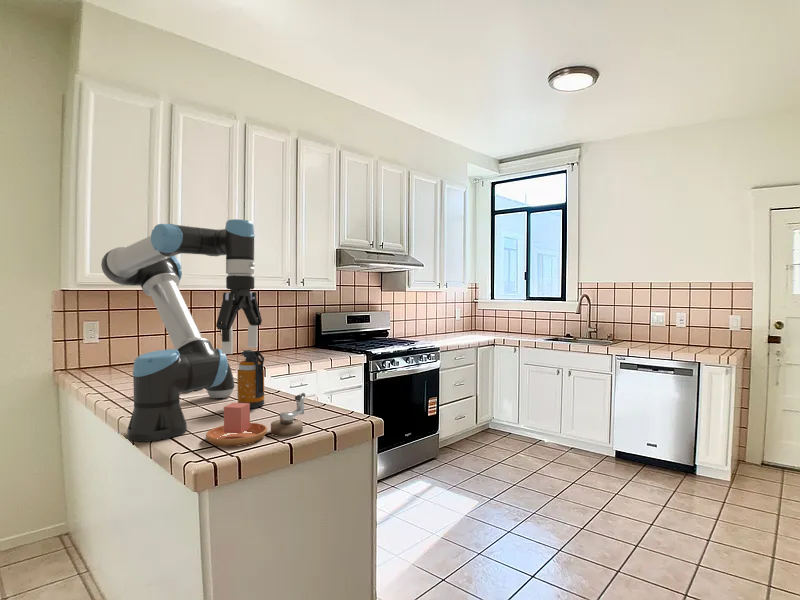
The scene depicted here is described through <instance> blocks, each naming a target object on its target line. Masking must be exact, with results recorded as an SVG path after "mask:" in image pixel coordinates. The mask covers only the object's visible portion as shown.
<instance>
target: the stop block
mask: <svg viewBox="0 0 800 600" xmlns="http://www.w3.org/2000/svg"><path fill="white" fill-rule="evenodd" d="M250 421H251V409H250V403H238V402H231V403H229V404H227V405H226V406H224V407H223V425H224V433H243V432H244V431H246V430H248V429H249V428H250V423H251V422H250Z"/></svg>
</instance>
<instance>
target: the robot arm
mask: <svg viewBox="0 0 800 600" xmlns="http://www.w3.org/2000/svg"><path fill="white" fill-rule="evenodd" d="M224 228H225V229H224ZM224 228H222V229H221V228H220V229H214V228H205V227H197V226H189V225H188V226H187V225H179V224H173V223H158V224H156V225H155V226H154V227H153V229H152V230H151V234H150V235H149V236H147V237H145V238H143V239H140V240H138V241H137V242H135V243H132V244H130V245H127V246H126V247H125V246H119V247H115V248H113V249H110V250H109V251H107V252H106V253H105V254H104V255H103V257H102V258H101V271H102V273H103V274H104V276H106V278H107V279H108V280H110V281H111V282H114V283H115V284H118V285H122V286H140V287H141V289H142V291H143V293H144V294H145V295H146V296H148V297H151V300H152V301H153V303H154V306H155V308H156V310H157V312H158V314H159V317H160V319H161V321H162V323H163V325H164V327H165V329H166V332H167V334H168V337H169V339H170V341H171V343H172V345H173V347H174V349H173V348H172V349H171V348H168V349H161V350H153V351H149V352H146V353H143V354H140V355H138V356H137V357H136V358H135V359H134V361H133V369H132V370H133V371H132V377H133V411H132V414H131V417H130V420H129V422H128V427H127V429H126V437H127V439H128V440H130V441H133V442H154V441H161V440H160V439H163V440H168V439H171V437H172V438H174V437H179V436H180V435H183V434H184V433H186V432H187V429H188V428H187V420H186V418H185V415H184V413H183V410H182V408H181V407H182V406H181V403H180V394H181V393H189V392H188V391H193V390H199V389H202V390H203V389H206V388H210V387H213V386H217V385H219V384H221V383H222V382H223V381H224V379H225V377H226V374H227V369H228V364H229V363H228V362H229V361H228V357H227V355H233V353H234V345H233V344H234V339H233V338H234V336H233V335H234V334H233V333H234V332H233V330H234V329H232V326H233V323H234V321H235V319H236V317H237V315H238V313H239V311H240V310H242V311H243V312H244V315H245V317H246V320H247V321H248V324H249V325H248V326H247V347H248V348H250V349H251V348H253V349H255V348H258V346H259V345H258V342H259V338H258V336H259V335H258V334H259V333H258V332H259V331H258V329H259V328H258V327H259V326H261V325H262V322H263V320H262V315H261V311H260V308H259V304H258V299H257V292H255V291H251V290H253V289H255V277H254V276H253V275H254V274H255V265H256V264H255V238H256V237H255V236H256V235H255V227H254V223H253V222H252V221H251V220H247V219H228V220H227V221H226V222H225V227H224ZM179 254H184V255H185V254H186V255H187V254H189V255H204V256H209V257H219V256H225V273H226V274H227V276H226V278H225V282H226V284H225V286H226V287H225V288H226V289H227V290H230V291H229V292H223V293H222V302H221V306H220V310H219V313H218V317H217V321H216V325H215V326H216V328H217V329H218V330H221V341H222V342H221V347H222V348H214V347H213V344H212V343H211V341H210V340H209V339H207V338H203V335H202V334H201V331H200V329H199V328H198V326H197V324H196V322H195V320H194V317H193V315H192V313H191V311H190V309H189V307H188V305H187V303H186V302H185V299H184V297H183V295H182V292H181V291H180V289H179V287H178V286H179V285H180V281H181V279H182V275H183V274H182V273H183V272H182V270H181V269H182V266H181V262H180V260H179V259H178V258H177V257H176V256H177V255H179ZM199 391H200V390H199ZM167 438H168V439H167Z"/></svg>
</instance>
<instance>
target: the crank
mask: <svg viewBox="0 0 800 600" xmlns="http://www.w3.org/2000/svg"><path fill="white" fill-rule="evenodd" d="M305 398H306V393H304V392H302V393H299V394H298V395H295V396H294V399H295V401H296V409H294V410H292V411H283V412H280V413H279V420H280V423H281V424H290V423H293V422H294V419H295V417H297V416H298V415H299V416H300V415H304V414H305Z"/></svg>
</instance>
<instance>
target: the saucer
mask: <svg viewBox="0 0 800 600" xmlns="http://www.w3.org/2000/svg"><path fill="white" fill-rule="evenodd" d="M246 431H247V432H252V433H237V434H230V435H227V436H222V435H224V434H227V433H224V424H223V425H219V426H217V427H214V428H211V429H209V430H208V431H207V432H206V434H205V438H206V440H207V441H208V442H209V443H210V444H212V445H214V446H216V445H217V447H223V446H234V447H239V446H238V445H242V446H245V445H244V444H247V445H250V444H249V443H251V444H254V443H256V441H257V442H259V441H260V440H262V439H263V438H264V437H265V435H266V434H267V433H268V432H267V431H268V427H267V426H266V425H264V424H263V423H258V422H250V428H249V429H248V430H246ZM220 436H221V437H220ZM217 438H218V439H217ZM258 440H259V441H258ZM253 442H254V443H253Z"/></svg>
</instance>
